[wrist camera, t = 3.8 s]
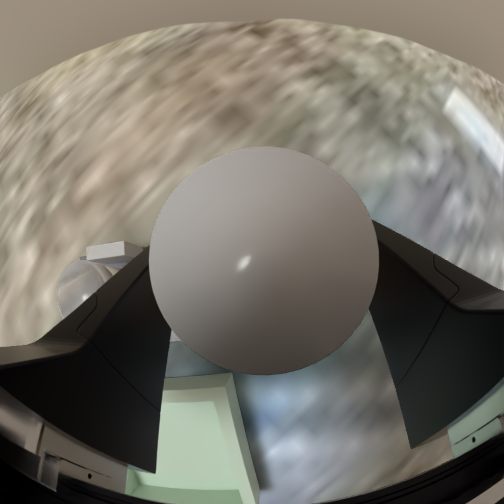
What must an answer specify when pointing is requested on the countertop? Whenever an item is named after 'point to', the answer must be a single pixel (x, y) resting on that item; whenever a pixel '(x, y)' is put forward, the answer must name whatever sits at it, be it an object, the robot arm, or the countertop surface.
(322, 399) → the countertop surface
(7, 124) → the countertop surface
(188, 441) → the tray
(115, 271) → the cylinder
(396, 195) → the countertop surface
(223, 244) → the banded fuse
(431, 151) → the countertop surface
